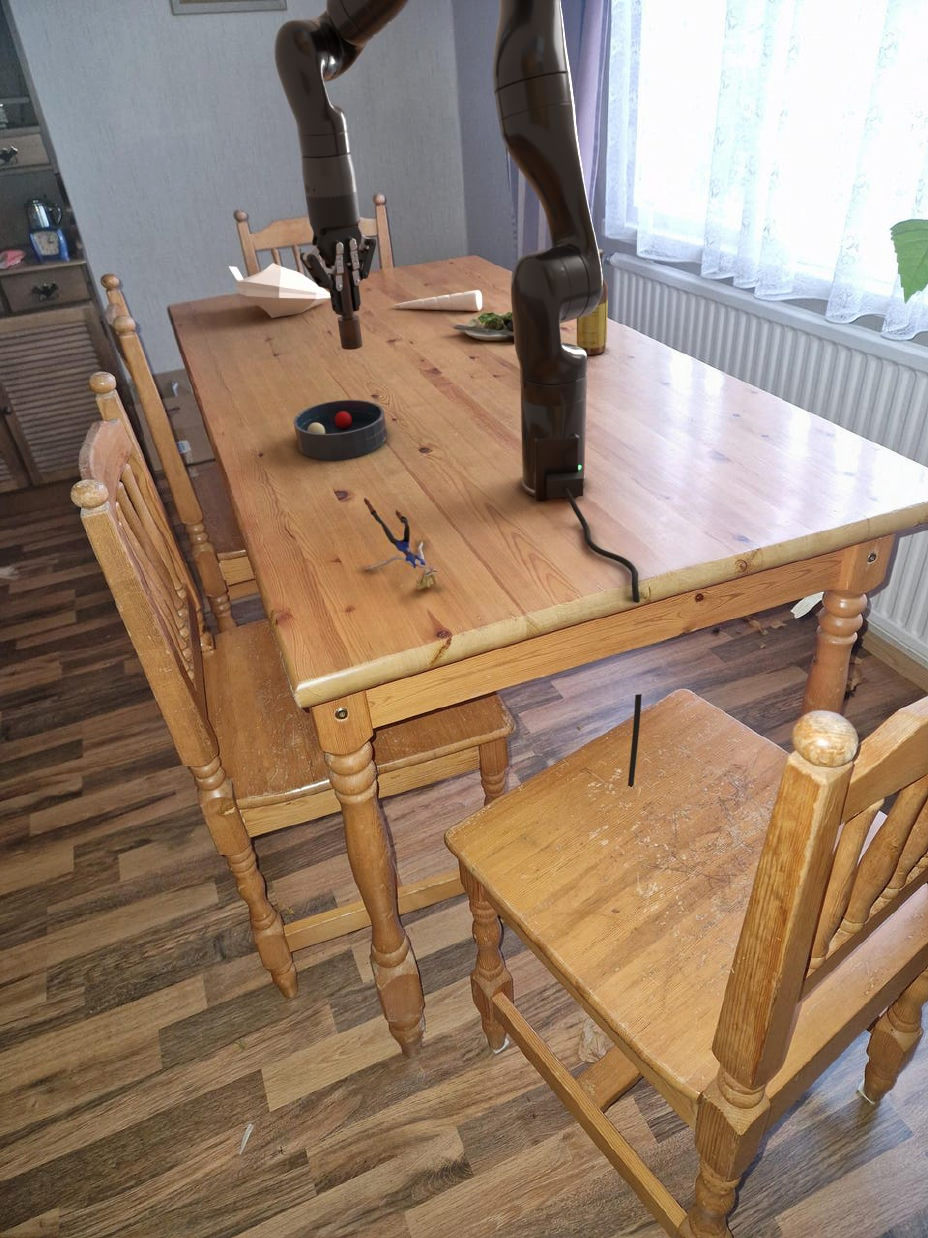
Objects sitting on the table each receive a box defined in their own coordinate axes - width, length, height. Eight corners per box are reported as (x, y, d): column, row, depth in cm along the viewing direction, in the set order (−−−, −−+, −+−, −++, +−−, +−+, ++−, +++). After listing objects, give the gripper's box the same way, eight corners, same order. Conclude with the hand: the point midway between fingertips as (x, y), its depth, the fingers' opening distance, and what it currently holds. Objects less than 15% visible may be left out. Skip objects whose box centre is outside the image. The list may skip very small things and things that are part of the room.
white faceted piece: (348, 304, 213) (341, 253, 205) (284, 330, 197) (274, 276, 190) (280, 295, 225) (271, 247, 217) (214, 319, 209) (202, 268, 202)
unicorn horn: (398, 303, 210) (396, 284, 207) (484, 308, 202) (483, 288, 199) (390, 309, 206) (388, 289, 203) (477, 313, 198) (476, 293, 195)
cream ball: (325, 442, 139) (322, 426, 137) (307, 443, 139) (304, 427, 137) (327, 435, 141) (324, 419, 140) (310, 436, 141) (307, 420, 140)
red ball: (352, 430, 142) (349, 414, 141) (335, 432, 142) (332, 415, 141) (353, 424, 145) (351, 408, 143) (337, 425, 145) (334, 409, 143)
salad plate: (448, 345, 179) (447, 324, 177) (459, 321, 193) (458, 301, 191) (536, 343, 177) (536, 322, 174) (540, 319, 191) (540, 299, 188)
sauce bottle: (586, 344, 174) (589, 245, 162) (612, 349, 170) (616, 247, 159) (569, 353, 170) (571, 252, 158) (595, 358, 166) (598, 255, 155)
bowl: (384, 456, 134) (381, 431, 132) (292, 463, 134) (287, 437, 132) (389, 420, 147) (386, 396, 144) (304, 426, 147) (300, 402, 144)
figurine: (411, 648, 103) (351, 545, 114) (469, 613, 103) (404, 513, 114) (384, 608, 94) (322, 500, 105) (447, 570, 95) (379, 466, 105)
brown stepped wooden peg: (361, 349, 129) (349, 255, 121) (340, 350, 130) (327, 257, 121) (363, 342, 132) (351, 250, 124) (342, 343, 132) (329, 251, 124)
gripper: (308, 200, 111) (327, 327, 122) (383, 183, 119) (395, 305, 129) (276, 195, 116) (298, 319, 126) (351, 180, 123) (365, 297, 134)
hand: (347, 311), depth 128 cm, fingers closed on brown stepped wooden peg, 2 cm apart
